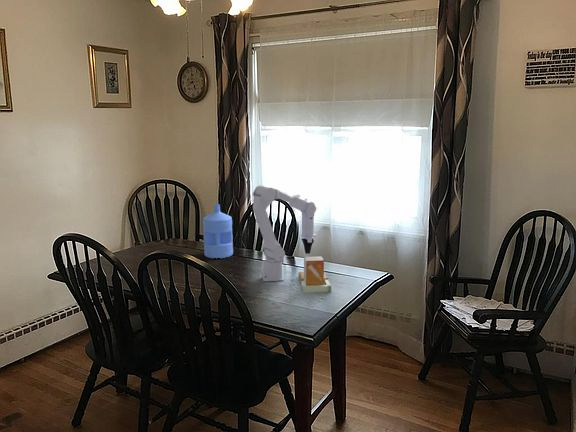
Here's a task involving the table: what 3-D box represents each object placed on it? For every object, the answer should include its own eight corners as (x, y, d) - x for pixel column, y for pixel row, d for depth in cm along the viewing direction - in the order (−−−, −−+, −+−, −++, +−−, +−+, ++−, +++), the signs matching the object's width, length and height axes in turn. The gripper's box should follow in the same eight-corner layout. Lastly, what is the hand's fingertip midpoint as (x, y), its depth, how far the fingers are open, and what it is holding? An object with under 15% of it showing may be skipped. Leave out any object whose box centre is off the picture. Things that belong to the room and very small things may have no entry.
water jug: (205, 251, 275) (202, 202, 269) (233, 250, 277) (231, 201, 271) (203, 259, 260) (201, 207, 254) (233, 258, 262) (231, 206, 256)
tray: (303, 292, 211) (303, 287, 210) (301, 286, 219) (301, 280, 218) (331, 291, 212) (331, 285, 212) (327, 285, 220) (327, 279, 219)
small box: (305, 289, 215) (305, 260, 212) (303, 284, 221) (303, 256, 218) (324, 288, 216) (324, 260, 213) (321, 283, 222) (321, 255, 219)
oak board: (301, 285, 221) (301, 279, 221) (298, 278, 231) (298, 272, 230) (328, 284, 223) (328, 277, 222) (323, 277, 232) (323, 270, 232)
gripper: (318, 229, 228) (318, 257, 231) (313, 222, 242) (313, 248, 245) (303, 229, 228) (303, 257, 230) (299, 222, 242) (299, 249, 244)
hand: (307, 253), depth 238 cm, fingers closed
